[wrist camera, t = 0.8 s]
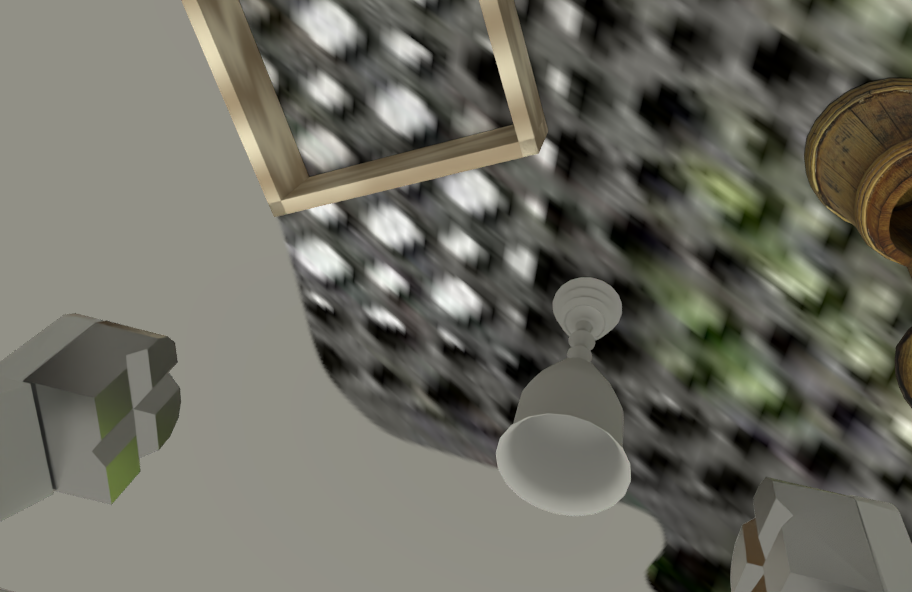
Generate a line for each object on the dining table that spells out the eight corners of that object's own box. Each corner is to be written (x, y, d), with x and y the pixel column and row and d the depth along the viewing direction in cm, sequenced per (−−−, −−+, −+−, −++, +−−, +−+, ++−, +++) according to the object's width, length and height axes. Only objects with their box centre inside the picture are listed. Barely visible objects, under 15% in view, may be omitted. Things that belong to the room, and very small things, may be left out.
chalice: (523, 322, 58) (476, 479, 43) (561, 249, 55) (525, 392, 39) (611, 362, 58) (596, 534, 43) (654, 292, 55) (655, 451, 39)
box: (206, -45, 51) (164, -39, 46) (474, -149, 44) (455, -153, 40) (302, 192, 57) (274, 217, 53) (548, 130, 51) (538, 153, 47)
